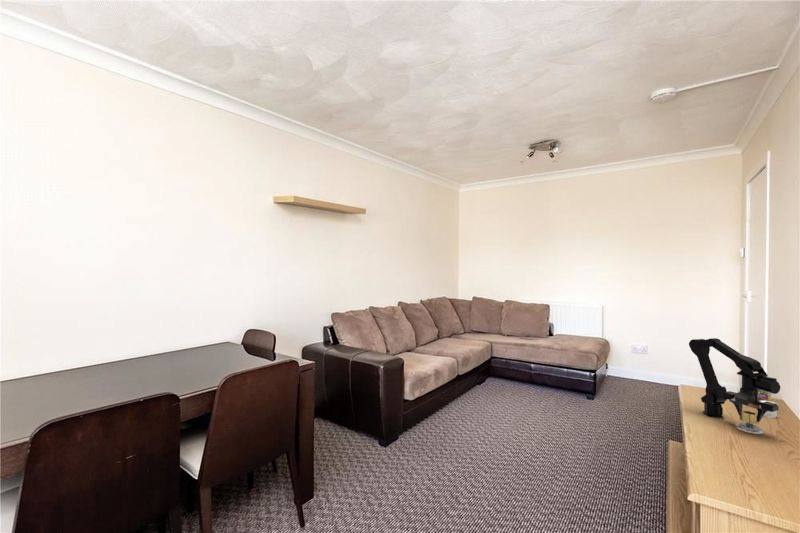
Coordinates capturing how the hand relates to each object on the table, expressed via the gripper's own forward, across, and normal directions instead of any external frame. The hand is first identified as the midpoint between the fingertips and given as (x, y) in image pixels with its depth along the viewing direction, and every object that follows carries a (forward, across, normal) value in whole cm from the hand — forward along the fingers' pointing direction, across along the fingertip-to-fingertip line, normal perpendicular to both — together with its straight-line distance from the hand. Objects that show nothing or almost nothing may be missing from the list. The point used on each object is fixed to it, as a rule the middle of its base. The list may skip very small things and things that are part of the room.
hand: (749, 418), depth 175 cm
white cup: (+5, -5, +29) cm, 30 cm away
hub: (+5, 0, 0) cm, 5 cm away
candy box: (+5, -12, +38) cm, 40 cm away
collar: (+1, 0, 0) cm, 1 cm away
